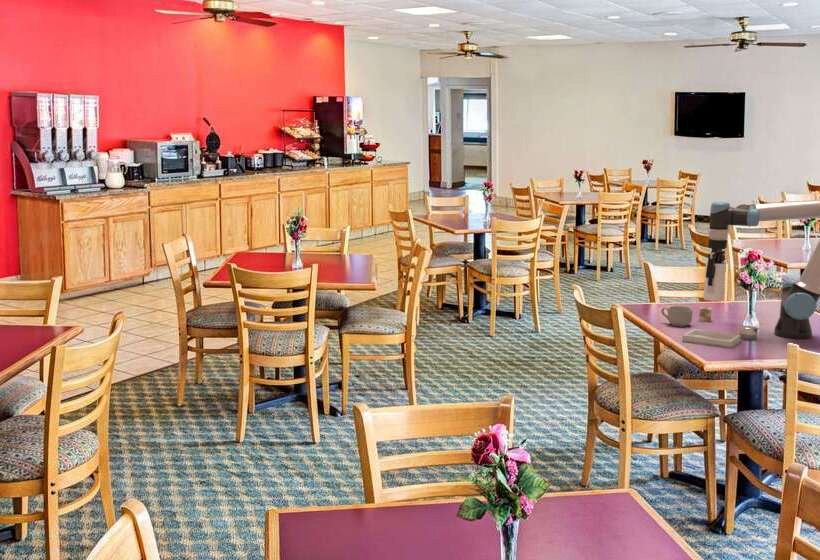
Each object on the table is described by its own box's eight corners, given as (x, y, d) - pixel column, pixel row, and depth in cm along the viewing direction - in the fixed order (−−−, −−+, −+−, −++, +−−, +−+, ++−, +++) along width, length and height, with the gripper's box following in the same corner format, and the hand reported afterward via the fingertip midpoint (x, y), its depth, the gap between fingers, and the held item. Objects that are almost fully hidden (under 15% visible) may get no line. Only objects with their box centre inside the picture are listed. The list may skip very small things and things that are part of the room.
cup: (725, 301, 394) (728, 264, 391) (705, 300, 394) (708, 263, 391) (720, 297, 402) (723, 260, 399) (701, 297, 402) (703, 260, 400)
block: (710, 320, 433) (711, 307, 432) (710, 322, 428) (711, 309, 427) (699, 319, 434) (700, 306, 433) (699, 321, 430) (699, 308, 429)
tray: (740, 341, 391) (740, 335, 391) (730, 348, 380) (731, 341, 379) (693, 335, 402) (693, 328, 402) (682, 341, 391) (682, 335, 391)
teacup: (696, 325, 422) (697, 308, 420) (684, 329, 414) (685, 311, 413) (668, 320, 431) (669, 303, 430) (656, 324, 424) (657, 306, 422)
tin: (758, 338, 398) (759, 326, 397) (754, 341, 392) (755, 329, 391) (742, 336, 402) (742, 324, 401) (737, 339, 396) (738, 327, 395)
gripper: (717, 235, 404) (713, 287, 408) (700, 240, 387) (696, 294, 391) (735, 237, 399) (731, 289, 403) (718, 242, 383) (714, 296, 387)
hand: (713, 291), depth 397 cm, fingers closed on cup, 8 cm apart
